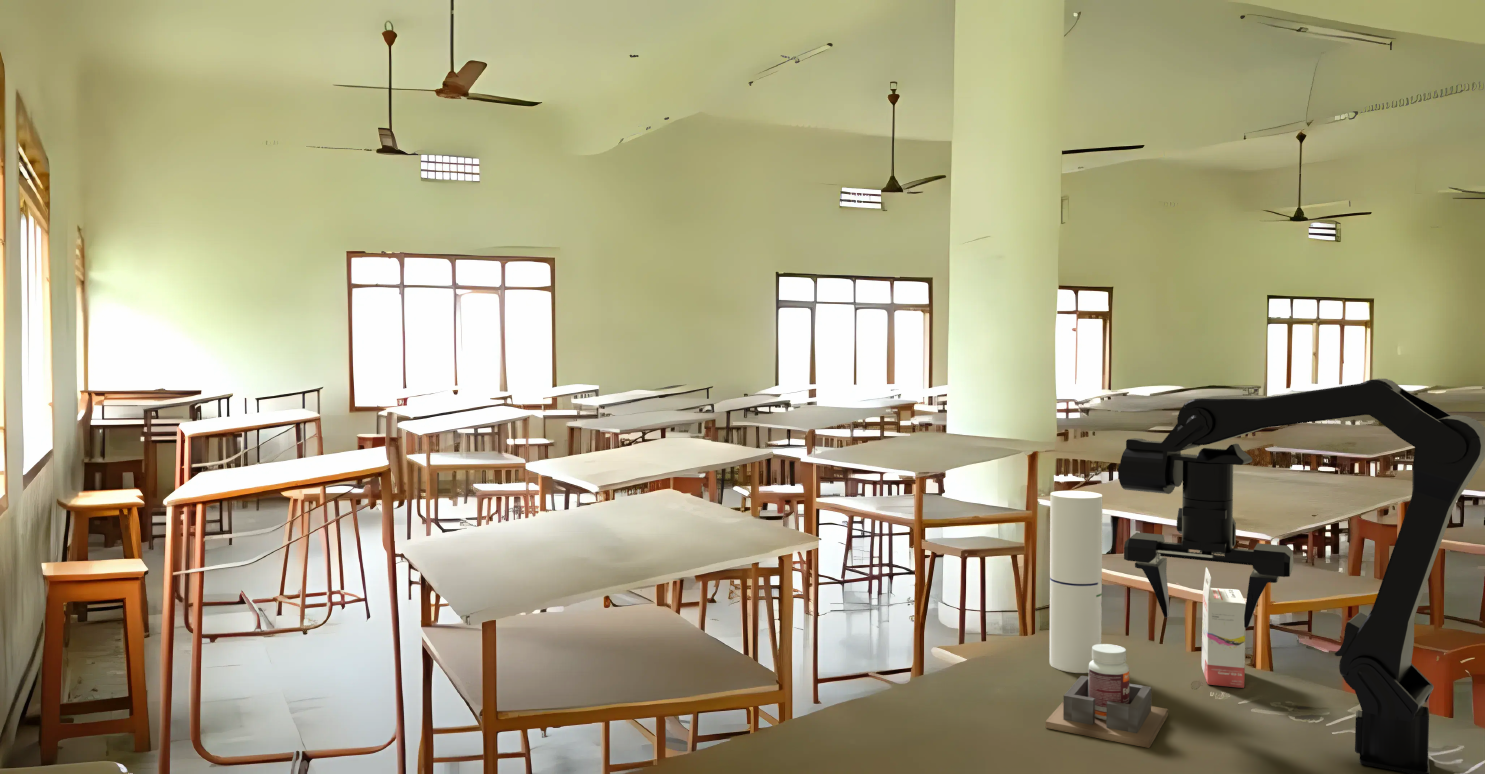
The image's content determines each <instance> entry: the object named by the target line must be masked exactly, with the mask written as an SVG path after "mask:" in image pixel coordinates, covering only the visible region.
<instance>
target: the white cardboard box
mask: <svg viewBox="0 0 1485 774" xmlns="http://www.w3.org/2000/svg"><path fill="white" fill-rule="evenodd" d="M1202 587H1203V588H1202V589H1203V591H1202V622H1201V623H1202V626H1201V627H1202V629H1201V632H1202V633H1201V636H1202V637H1201V668H1202V672H1203V675H1204V678H1205V681H1206V683H1207V685H1213V686H1220V687H1230V688H1239V689H1244V688H1245V671H1246V670H1245V669H1246V665H1245V664H1246V663H1245V661H1246V628H1245V627H1244V614H1245V607H1246V600H1245V598H1244V596H1243V594H1242V593H1241V590H1240V589H1235V588H1234V589H1233V588H1218V587H1217V588H1216V587H1212V576H1211V574H1210V570H1209V569H1208V567H1207V566H1206V567H1205V570H1204V579H1203V586H1202Z"/></svg>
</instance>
